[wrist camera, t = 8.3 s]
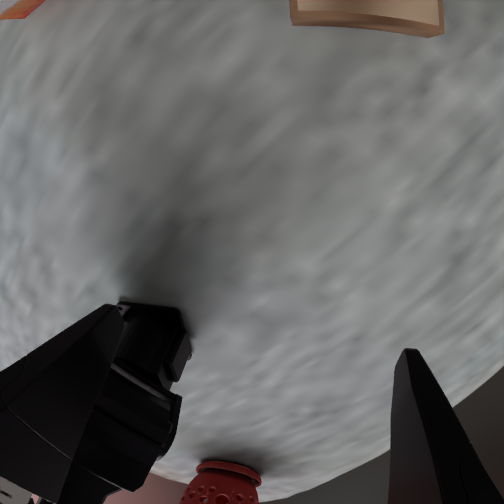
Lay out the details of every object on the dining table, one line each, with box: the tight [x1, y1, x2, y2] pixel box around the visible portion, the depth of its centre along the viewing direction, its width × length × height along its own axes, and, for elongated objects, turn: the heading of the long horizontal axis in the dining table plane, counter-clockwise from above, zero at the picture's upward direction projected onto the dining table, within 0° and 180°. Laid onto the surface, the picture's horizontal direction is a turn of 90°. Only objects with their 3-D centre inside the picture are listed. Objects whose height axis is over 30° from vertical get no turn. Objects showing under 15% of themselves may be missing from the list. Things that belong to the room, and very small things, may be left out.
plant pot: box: [179, 461, 261, 504], centre depth 42 cm, size 13×13×12 cm
